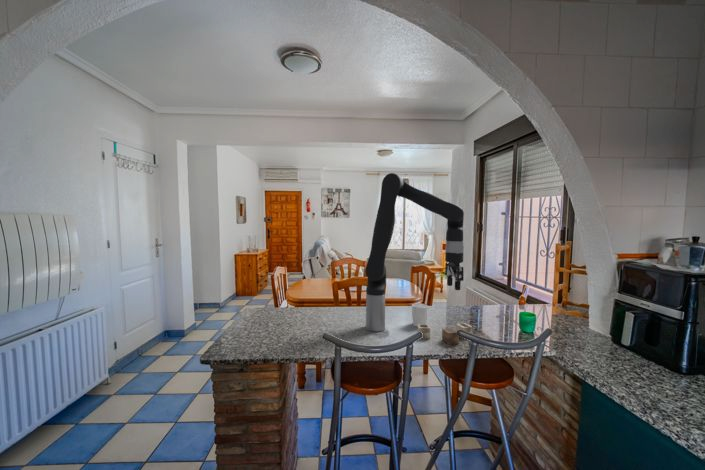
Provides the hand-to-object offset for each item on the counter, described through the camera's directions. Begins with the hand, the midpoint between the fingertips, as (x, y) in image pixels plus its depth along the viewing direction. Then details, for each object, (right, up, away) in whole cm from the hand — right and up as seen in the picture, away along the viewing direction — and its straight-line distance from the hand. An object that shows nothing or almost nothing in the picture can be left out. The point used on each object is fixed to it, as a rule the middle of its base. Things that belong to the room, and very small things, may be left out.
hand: (453, 287), depth 123 cm
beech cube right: (+7, -23, +5) cm, 24 cm away
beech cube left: (-12, -23, +3) cm, 26 cm away
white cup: (-11, -23, +18) cm, 31 cm away
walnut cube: (-2, -23, -3) cm, 23 cm away
